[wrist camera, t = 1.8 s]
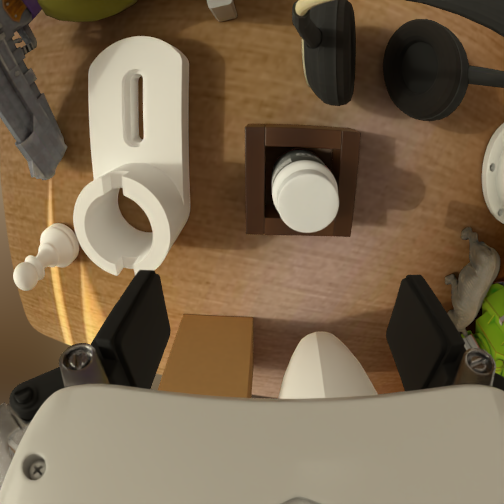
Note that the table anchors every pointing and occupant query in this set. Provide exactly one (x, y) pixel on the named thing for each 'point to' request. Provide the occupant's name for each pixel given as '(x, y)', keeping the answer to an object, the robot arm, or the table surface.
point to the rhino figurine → (472, 281)
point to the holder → (287, 135)
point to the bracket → (136, 154)
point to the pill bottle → (304, 191)
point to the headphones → (396, 55)
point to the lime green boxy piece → (490, 327)
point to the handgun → (26, 93)
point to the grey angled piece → (222, 9)
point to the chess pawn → (47, 255)
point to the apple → (83, 9)
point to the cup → (324, 370)
